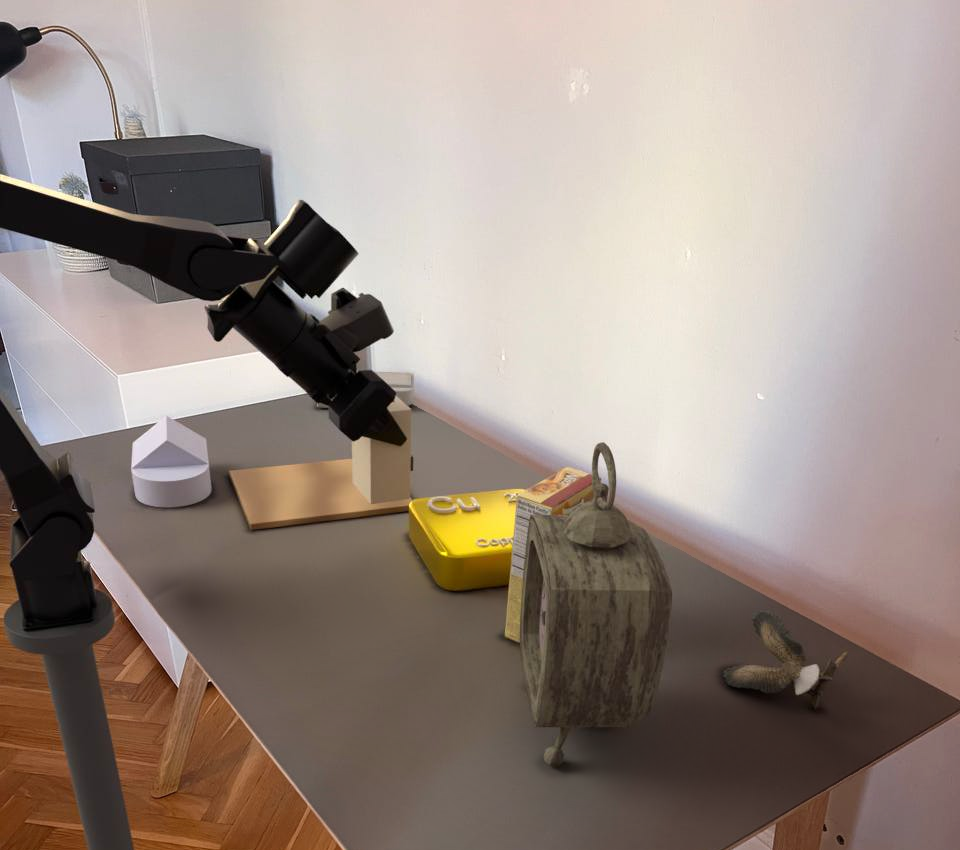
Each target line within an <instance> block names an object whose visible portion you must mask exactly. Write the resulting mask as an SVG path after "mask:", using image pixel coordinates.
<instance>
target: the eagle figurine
mask: <svg viewBox="0 0 960 850" xmlns="http://www.w3.org/2000/svg"><path fill="white" fill-rule="evenodd" d="M751 621H752V627H754V632H755V633H756V634H757V636H758V637H759V638H760V639H761V641H762V642H763V643H764V646H765V648H766V649H767V651H768V652H770V653H771V654H772V655H773V656H774V657H776V659H778V660H779V661H780V663H781V664H782V665H780V666H765V665H759V664H758V665H757V664H750V665H749V664H748V665H747V664H739V665H734V666H733V667H727V668H726V670H724V671H723V673H724V674H722V675H723V678H725V682H727V683H726V684H727V685H729V686H730V687H731V686H732V687H733V688H737V689H742V688H744V689H752V690H756V691H758V690H760V691H761V692H762V693H763V692H764V693H765V694H772V693H773V694H778V693H781V692H782V691H783V689H786V688H787V686H791V685H792V686H794V691H795V692H794V693H795V695H796V696H800V695H802V694H807V695H810V700H811V705H812V707H813V708H814V709H815V710H816V709H818V707H819V704H820V700H821V697H824V696H825V692H826V689H827V688H828V686H829V685H830V683H831V681H833V679H834V677H835V676H836V674H837V673H838V671H839V670H840V668H841V666H842V665H843V663H844V662H845V661H846V658H847V656H848V655H849V652H848V651H845V652H843V653H842V655H840V656H839V657H838V658H837V660H836V661H834V660H833V658H830V659H829V660H828V662H827V664H826V667H825V669H824V671H822V672H820V667H819V664H817V663H815V664H810V665H804V664H805V661H806V660H807V658H806V657H807V654H806V653H805V650H804V648H803V646H802V644H801V642H800V641H799V640H796V639H795V638H793V637H792V636H791V634H790V633H789V630H788V629H787V628H786V627H785V624H783V620H782V617H779V615H777V614H775V613H772V612H771V611H770V612H769V611H766V610H764V609H762V610H761V611H760V610H759V611H757V612H756V613H755V614H754V616H753V617H752V618H751ZM816 683H817V684H816ZM813 686H815V687H814V689H812V688H813Z"/></svg>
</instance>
